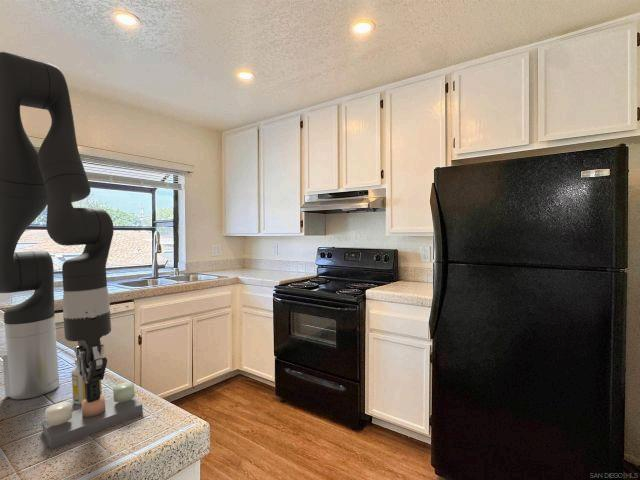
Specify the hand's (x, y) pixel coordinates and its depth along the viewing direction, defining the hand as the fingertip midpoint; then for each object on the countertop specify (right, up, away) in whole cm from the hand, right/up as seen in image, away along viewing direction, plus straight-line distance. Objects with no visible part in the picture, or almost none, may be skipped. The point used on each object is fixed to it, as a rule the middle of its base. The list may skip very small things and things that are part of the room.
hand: (93, 399), depth 69 cm
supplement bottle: (-8, -5, +10) cm, 14 cm away
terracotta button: (0, -2, 0) cm, 2 cm away
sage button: (+4, -1, +4) cm, 6 cm away
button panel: (0, -5, 0) cm, 5 cm away
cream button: (-4, -2, -4) cm, 6 cm away
